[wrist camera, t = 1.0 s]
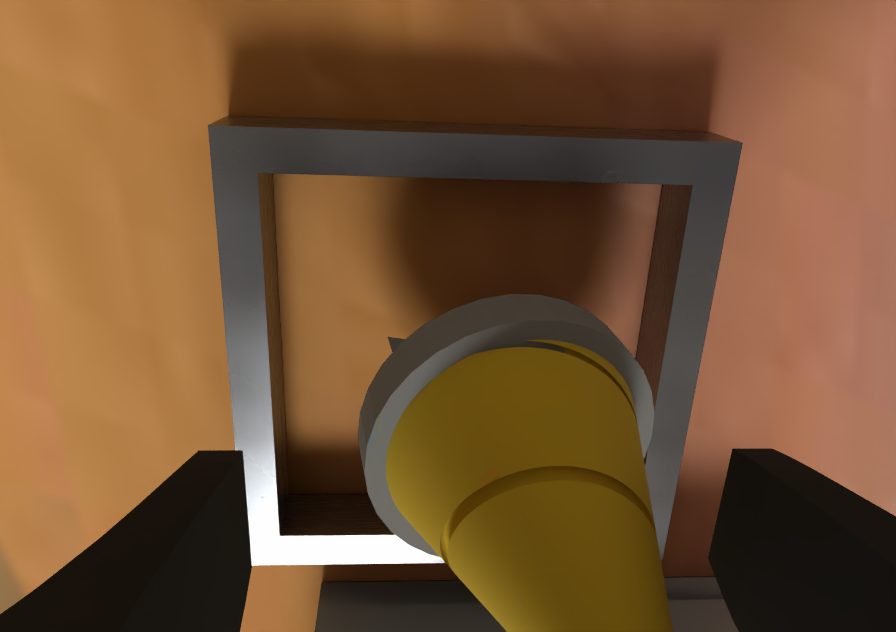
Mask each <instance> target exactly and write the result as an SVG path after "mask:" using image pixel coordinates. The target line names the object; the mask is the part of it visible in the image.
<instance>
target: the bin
mask: <svg viewBox="0 0 896 632" xmlns="http://www.w3.org/2000/svg"><path fill="white" fill-rule="evenodd" d="M664 581H665V586H666V592H667V598H668V604H669V610H670V616H671V621H672V627H673V632H739V631H738V629H737V627H736V626H735V624H734V622H733V620H732V617H731V615H730V612H729V610H728V608H727V605H726V603H725V601H724V598H723V596H722V593H721V591H720V588H719V586H718V583H717V580H716V578H715V577H682V578H664ZM315 632H507V631H506V630H505V629H504V628H503V627H502V625H501V624H500V623H499V622H498V621H497V620H496V619H495V618H494V617H493V615H492V614H491V613H490V612H489V611H488V610H487V609H486V608H485V607H484V605H483V604H482V603H481V602H480V601H479V600H478V599H477V598H476V597H475V595H474V594H473V593H472V592H471V591H470V590H469V589H468V588H467V586H466V585H465V584H464V583H463V582H462V581H398V582H327V583H322V584H321V591H320V598H319V605H318V613H317V620H316V627H315Z"/></svg>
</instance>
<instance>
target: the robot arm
mask: <svg viewBox="0 0 896 632" xmlns="http://www.w3.org/2000/svg"><path fill="white" fill-rule="evenodd" d="M708 559H709V562H710V564H711V567H712V570H713V572H714V575H715V578H716V580H717V583H718V586H719V588H720V591H721V593H722V596H723V598H724V601H725V603H726V605H727V608H728V610H729V612H730V615H731V617H732V620H733V622H734V624H735V626H736V627H737V629H738V631H739V632H896V516H894V515H892V514H890V513H889V512H887V511H885V510H883V509H882V508H880V507H878V506H876V505H875V504H873V503H871V502H870V501H868V500H866V499H864V498H863V497H861V496H859V495H857V494H856V493H854V492H852V491H850V490H849V489H847V488H845V487H843V486H842V485H840V484H838V483H836V482H835V481H833V480H831V479H829V478H828V477H826V476H824V475H822V474H821V473H819V472H817V471H815V470H813V469H812V468H810V467H808V466H806V465H804V464H802V463H801V462H799V461H797V460H795V459H793V458H791V457H789V456H787V455H785V454H783V453H780V452H778V451H776V450H774V449H732V454H731V458H730V463H729V467H728V472H727V476H726V481H725V485H724V490H723V494H722V499H721V503H720V508H719V512H718V517H717V521H716V526H715V530H714V535H713V539H712V543H711V548H710V552H709V557H708ZM251 568H252V560H251V547H250V535H249V522H248V510H247V497H246V485H245V472H244V460H243V450H230V451H198V452H197V453H196V454H194V455H193V456H192V457H191V458H190V459H189V460H188V461H186V462H185V463H184V464H183V465H182V466H181V467H180V468H179V469H178V470H176V471H175V472H174V473H173V474H172V475H171V476H170V477H169V478H167V479H166V480H165V481H164V482H163V483H162V484H161V485H160V486H159V487H158V488H156V489H155V490H154V491H153V492H152V493H151V494H150V495H149V496H148V497H146V498H145V499H144V500H143V501H142V502H141V503H140V504H139V505H138V506H136V507H135V508H134V509H133V510H132V511H131V512H130V513H128V514H127V515H126V516H125V517H124V518H123V519H122V520H120V521H119V522H118V523H117V524H116V525H115V526H113V527H112V528H111V529H110V530H109V531H108V532H106V533H105V534H104V535H103V536H102V537H101V538H100V539H98V540H97V541H96V542H94V543H93V544H92V545H91V546H89V547H88V548H87V549H86V550H84V551H83V552H82V553H81V554H79V555H78V556H77V557H75V558H74V559H73V560H72V561H70V562H69V563H68V564H67V565H65V566H64V567H63V568H62V569H60V570H59V571H58V572H57V573H55V574H54V575H53V576H51V577H50V578H49V579H48V580H46V581H45V582H44V583H43V584H41V585H40V586H39V587H38V588H36V589H35V590H33V591H32V592H31V593H29V594H28V595H27V596H25V597H24V598H23V599H21V600H20V601H18V602H17V603H16V604H14V605H13V606H11V607H10V608H9V609H7V610H6V611H4V612H3V613H2V614H0V632H240V628H241V623H242V617H243V612H244V607H245V602H246V596H247V591H248V585H249V580H250V574H251Z"/></svg>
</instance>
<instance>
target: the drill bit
mask: <svg viewBox="0 0 896 632" xmlns="http://www.w3.org/2000/svg"><path fill="white" fill-rule="evenodd" d="M388 339H389V342H390V346H391V349H392V352H393V353H392V354H391V355H390V356H389V357H388V358H387V360H386V361H385V362H384V363H383V364H382V366H381V367H380V369H379V371H378V372H377V374H376V376H375V378H374V379H373V381H372V383H371V384H370V386H369V388H368V390H367V393H366V396H365V399H364V402H363V405H362V408H361V411H360V419H359V430H358V440H359V447H360V453H361V459H362V465H363V470H364V475H365V481H366V486H367V491H368V495H369V497H370V499H371V502H372V504H373V506H374V508H375V511H376V513H377V515H378V516H379V517H380V518H381V520H382V521H383V522H384V523H385V525H386V526H387V527H388V528H389V530H390V531H391V532H392V533H394V534H395V535H396V536H398V537H399V538H400V539H402V540H403V541H404V542H406V543H407V544H408V545H410V546H412V547H414V548H417V549H419V550H421V551H423V552H425V553H427V554H430V555H433V556H438V557H441V559H442V560H443V561H444V562H445V563H446V564H447V565H448V566H449V567H450V568H451V569H452V571H453V572H454V573H455V574H456V575H457V576H458V578H459V579H460V580H461V581H462V582H463V583H464V584H465V585H466V586H467V588H468V589H469V590H470V591H471V592H472V593H473V594H474V595H475V597H476V598H477V599H478V600H479V601H480V602H481V603H482V604H483V605H484V607H485V608H486V609H487V610H488V611H489V612H490V613H491V614H492V615H493V617H494V618H495V619H496V620H497V621H498V622H499V623H500V624H501V625H502V627H503V628H504V629H505V630H506V631H507V632H673V627H672V621H671V616H670V610H669V604H668V598H667V592H666V586H665V581H664V575H663V569H662V563H661V557H660V551H659V546H658V541H657V534H656V528H655V522H654V516H653V511H652V505H651V499H650V493H649V487H648V482H647V476H646V470H645V464H644V458H645V455H646V452H647V449H648V446H649V443H650V440H651V437H652V431H653V421H654V405H653V398H652V390H651V388H650V385H649V383H648V380H647V378H646V376H645V373H644V371H643V369H642V368H641V366H640V365H639V364H638V362H637V361H636V360H635V358H634V357H633V356H632V355H631V353H630V352H629V351H628V350H627V348H626V347H625V346H624V345H623V344H622V343H621V342H620V340H619V339H618V338H617V337H616V336H615V335H614V333H613V332H612V331H611V330H610V329H609V328H608V327H607V325H605V324H604V323H603V322H602V321H600V320H599V319H598V318H597V317H595V316H594V315H593V314H592V313H590V312H589V311H587V310H585V309H583V308H581V307H579V306H577V305H575V304H572V303H570V302H568V301H566V300H562V299H557V298H553V297H548V296H544V295H537V294H507V295H501V296H495V297H489V298H483V299H479V300H476V301H473V302H471V303H468V304H465V305H462V306H459V307H456V308H453V309H451V310H449V311H447V312H446V313H444V314H442V315H440V316H438V317H436V318H435V319H433V320H431V321H429V322H427V323H426V324H424V325H423V326H422V327H420V328H419V329H418V330H417V331H415V332H414V333H413V334H412V335H410V336H409V337H408V338H407V339H399V338H392V337H388Z"/></svg>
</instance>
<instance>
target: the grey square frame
mask: <svg viewBox="0 0 896 632" xmlns="http://www.w3.org/2000/svg"><path fill="white" fill-rule="evenodd" d="M208 131H209V143H210V155H211V167H212V179H213V190H214V202H215V214H216V226H217V238H218V250H219V262H220V274H221V285H222V297H223V309H224V321H225V333H226V345H227V357H228V369H229V380H230V392H231V404H232V416H233V428H234V440H235V450H243V460H244V472H245V485H246V497H247V510H248V522H249V535H250V547H251V560H252V565H316V564H398V563H445V562H444V561H443V560H442V559H441V557H438V556H433V555H430V554H427V553H425V552H423V551H421V550H419V549H417V548H414V547H412V546H410V545H408V544H407V543H406V542H404V541H403V540H402V539H400V538H399V537H398V536H396V535H395V534H394V533H392V532H391V531H390V530H389V528H388V527H387V526H386V525H385V523H384V522H383V521H382V520H381V518H380V517H379V516H378V515H377V513H376V511H375V508H374V506H373V504H372V502H371V499H370V497H369V495H368V494H337V495H289V478H288V459H287V440H286V421H285V402H284V383H283V364H282V344H281V325H280V306H279V287H278V268H277V249H276V230H275V211H274V192H273V173H279V174H314V175H350V176H385V177H421V178H456V179H492V180H528V181H563V182H599V183H634V184H663V187H662V193H661V200H660V206H659V213H658V219H657V226H656V232H655V239H654V245H653V251H652V258H651V264H650V271H649V277H648V284H647V290H646V297H645V303H644V310H643V316H642V323H641V329H640V336H639V342H638V349H637V355H636V361H637V362H638V364H639V365H640V366H641V368H642V369H643V371H644V373H645V376H646V378H647V380H648V383H649V385H650V388H651V390H652V398H653V405H654V421H653V431H652V437H651V440H650V443H649V446H648V449H647V452H646V455H645V458H644V464H645V470H646V476H647V482H648V487H649V493H650V499H651V505H652V511H653V516H654V522H655V528H656V534H657V541H658V546H659V551H660V557H661V560H663V554H664V549H665V544H666V539H667V534H668V528H669V523H670V518H671V513H672V508H673V502H674V497H675V492H676V487H677V482H678V476H679V471H680V466H681V461H682V456H683V450H684V445H685V440H686V435H687V430H688V424H689V419H690V414H691V409H692V404H693V398H694V393H695V388H696V383H697V378H698V372H699V367H700V362H701V357H702V352H703V346H704V341H705V336H706V331H707V326H708V321H709V315H710V310H711V305H712V300H713V295H714V289H715V284H716V279H717V274H718V269H719V263H720V258H721V253H722V248H723V243H724V237H725V232H726V227H727V222H728V217H729V211H730V206H731V201H732V196H733V191H734V185H735V180H736V175H737V170H738V165H739V159H740V154H741V149H742V144H743V143H741V142H738V141H735V140H732V139H729V138H726V137H723V136H720V135H717V134H714V133H711V132H694V131H664V130H635V129H605V128H576V127H546V126H517V125H487V124H458V123H429V122H399V121H370V120H340V119H311V118H281V117H252V116H226V117H224V118H222V119H220V120H218V121H216V122H214V123H212V124H210V125H208Z"/></svg>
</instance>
